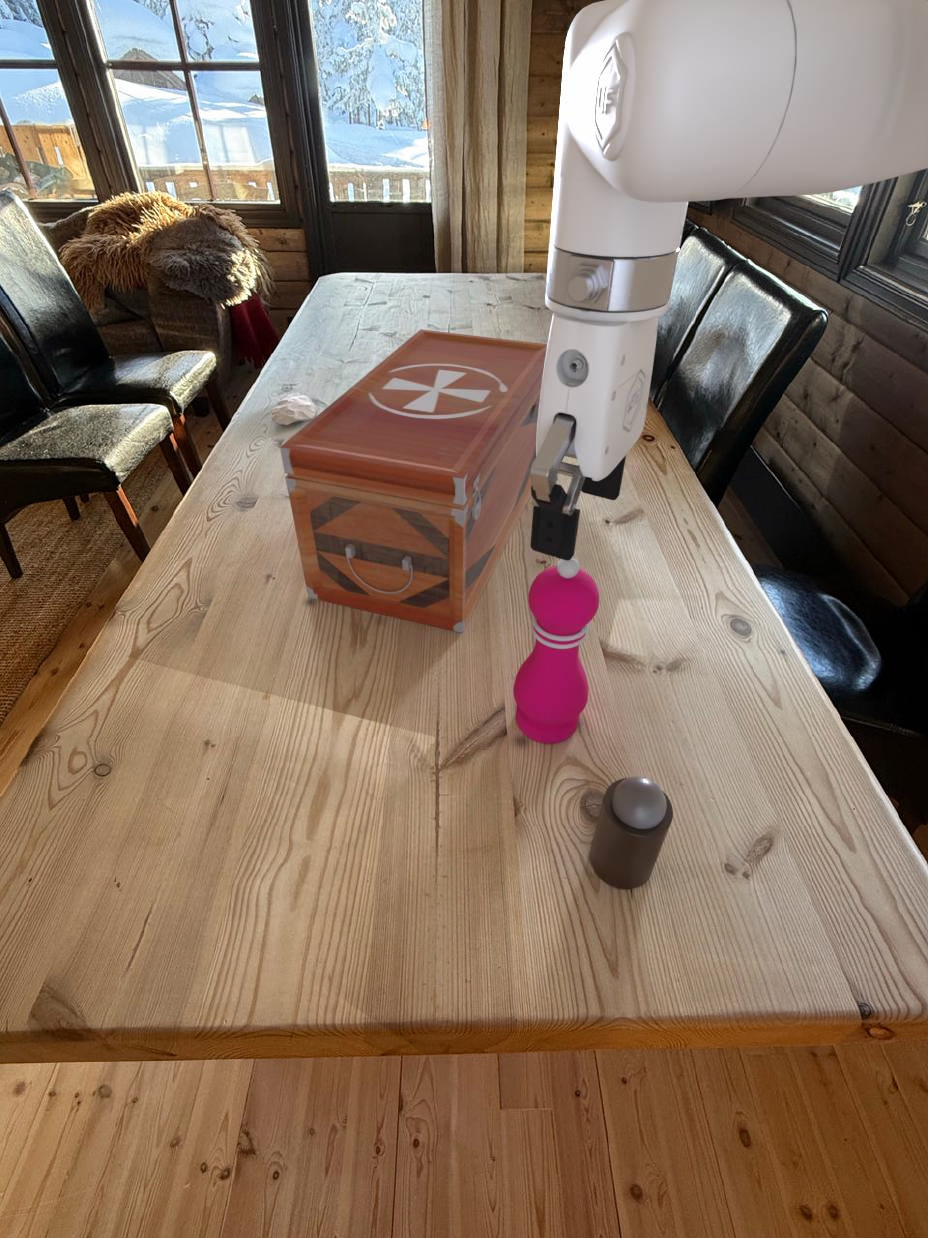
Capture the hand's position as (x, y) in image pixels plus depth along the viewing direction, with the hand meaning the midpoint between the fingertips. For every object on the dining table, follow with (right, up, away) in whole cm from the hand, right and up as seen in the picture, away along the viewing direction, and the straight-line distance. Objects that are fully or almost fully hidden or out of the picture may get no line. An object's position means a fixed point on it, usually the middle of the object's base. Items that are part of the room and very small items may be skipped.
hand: (576, 522), depth 51 cm
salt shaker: (+4, -28, +4) cm, 28 cm away
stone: (-40, +31, +71) cm, 87 cm away
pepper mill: (0, -18, +16) cm, 24 cm away
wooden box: (-12, +5, +42) cm, 44 cm away
